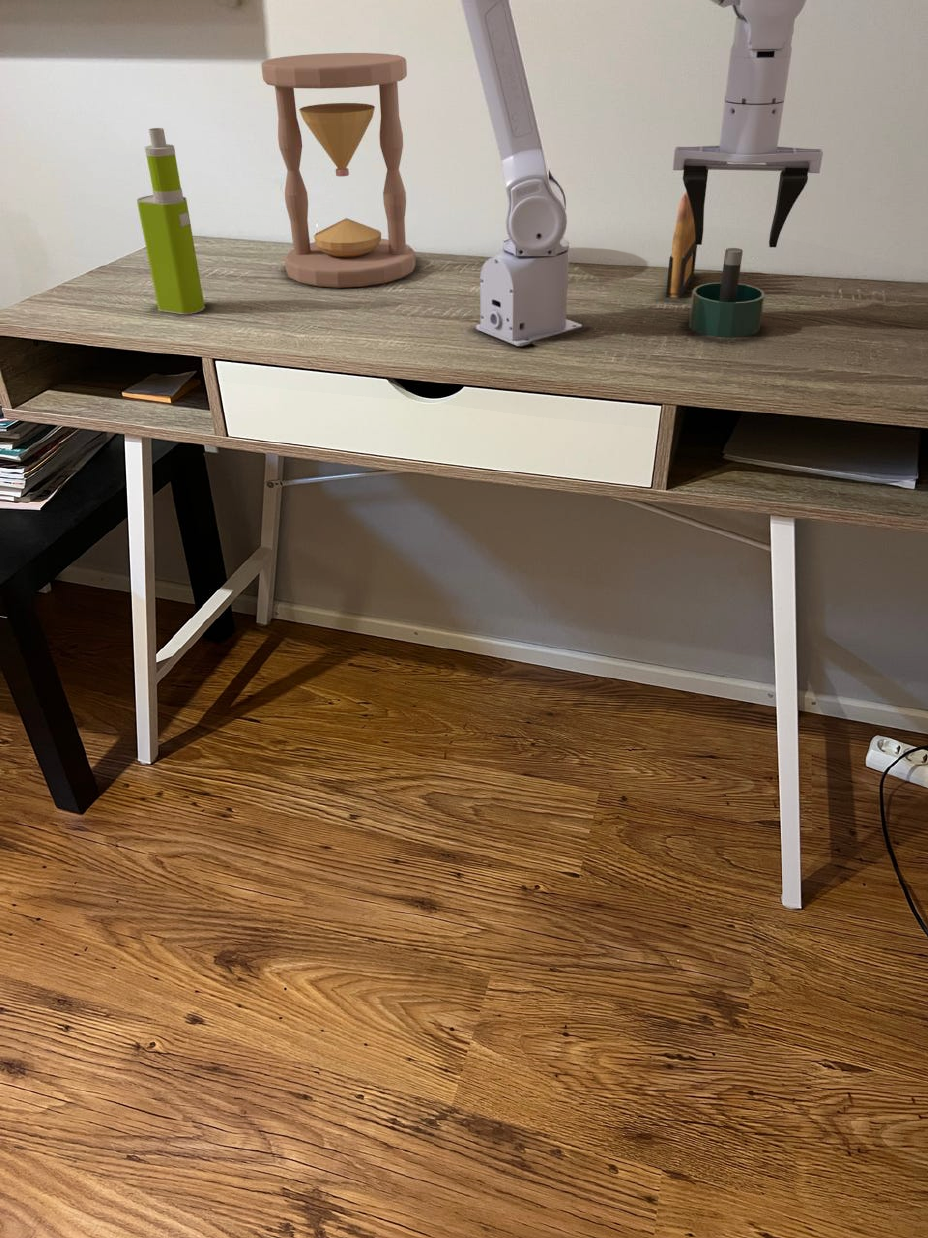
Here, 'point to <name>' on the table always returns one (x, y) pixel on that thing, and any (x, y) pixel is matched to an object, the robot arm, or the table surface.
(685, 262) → the ammunition clip
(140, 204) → the vape
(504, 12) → the robot arm
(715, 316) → the pen cup
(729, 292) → the marker
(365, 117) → the hourglass
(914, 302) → the table surface
